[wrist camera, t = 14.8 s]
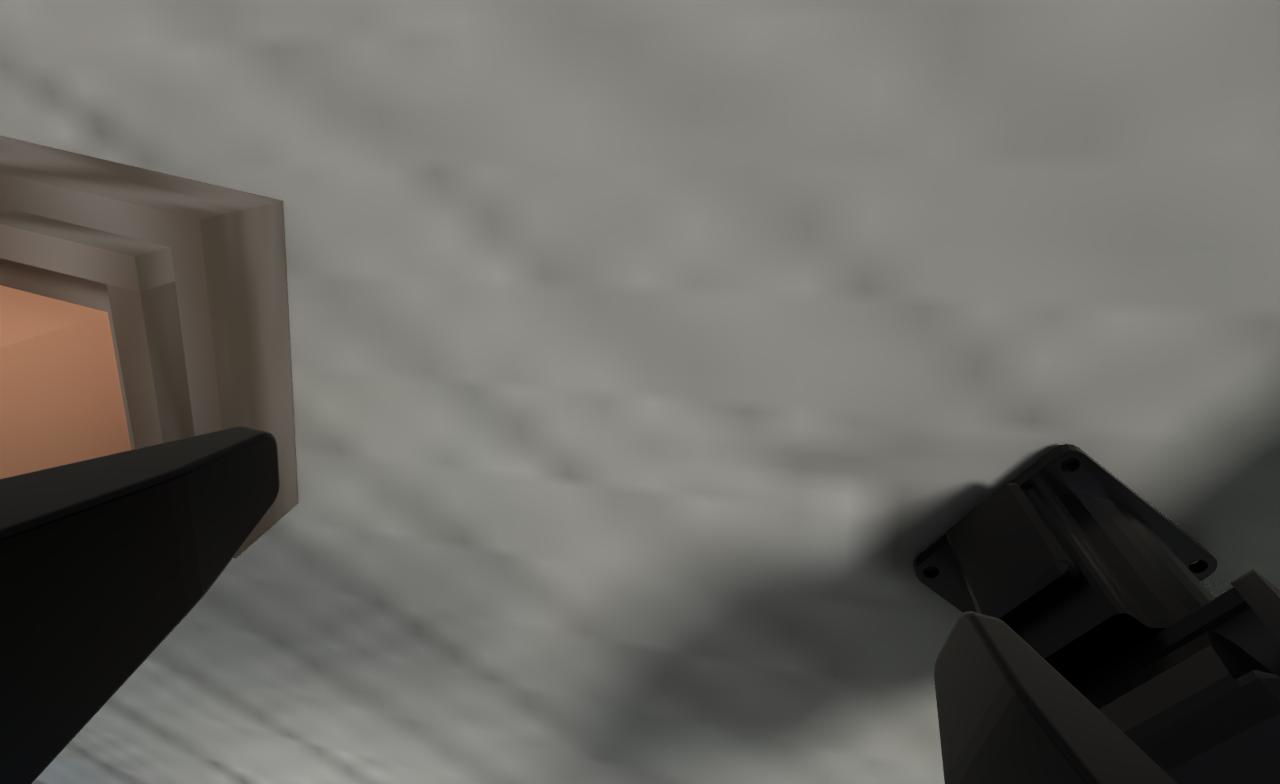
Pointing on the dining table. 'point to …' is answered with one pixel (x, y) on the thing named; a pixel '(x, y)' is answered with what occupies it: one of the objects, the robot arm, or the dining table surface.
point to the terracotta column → (56, 384)
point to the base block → (163, 291)
